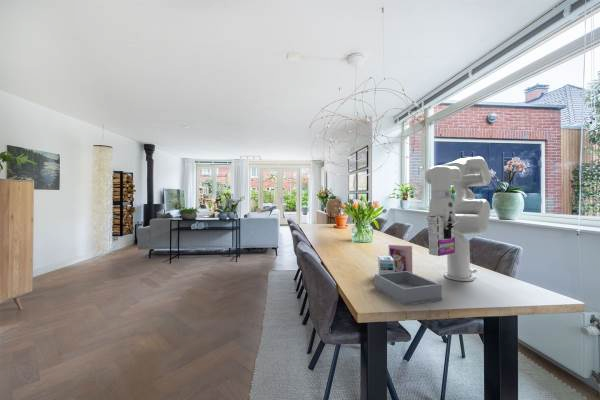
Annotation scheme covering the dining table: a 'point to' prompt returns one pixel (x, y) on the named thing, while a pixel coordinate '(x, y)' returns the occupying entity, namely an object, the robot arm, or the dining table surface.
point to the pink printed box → (401, 257)
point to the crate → (408, 287)
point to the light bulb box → (386, 264)
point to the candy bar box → (439, 237)
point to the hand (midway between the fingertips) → (441, 237)
